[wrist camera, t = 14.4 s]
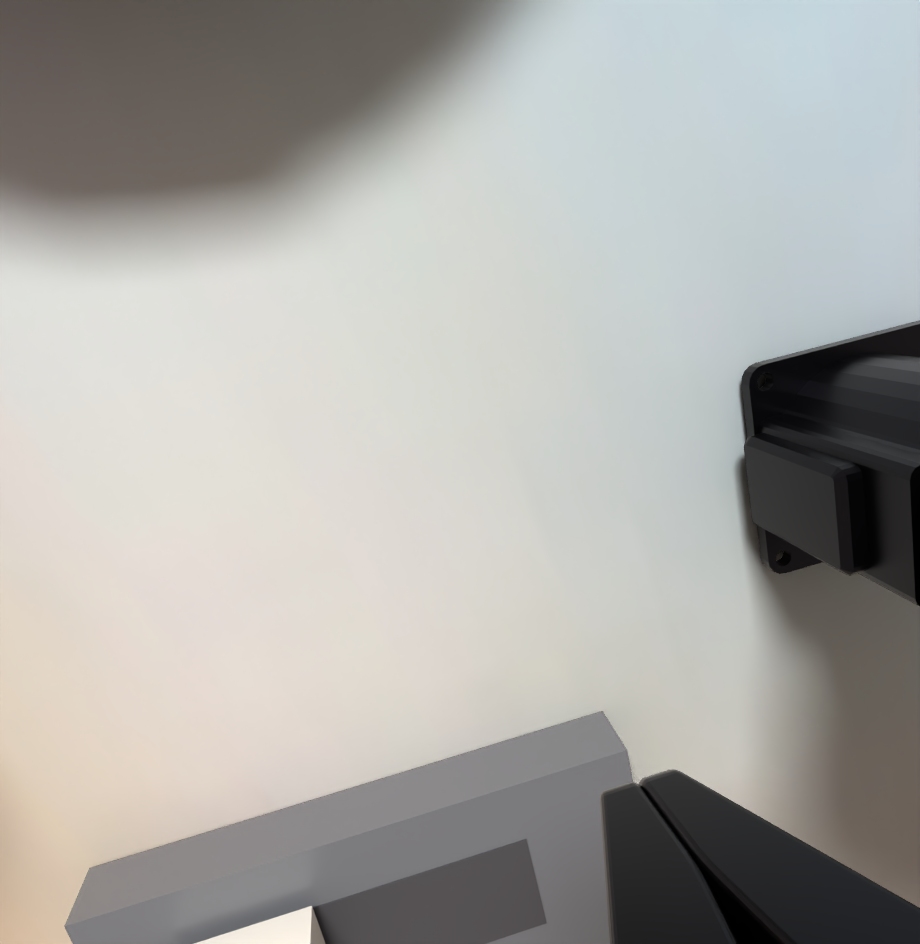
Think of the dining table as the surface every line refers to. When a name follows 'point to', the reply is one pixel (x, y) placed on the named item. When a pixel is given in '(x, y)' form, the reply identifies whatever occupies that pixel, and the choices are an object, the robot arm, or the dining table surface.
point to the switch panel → (393, 857)
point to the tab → (276, 931)
